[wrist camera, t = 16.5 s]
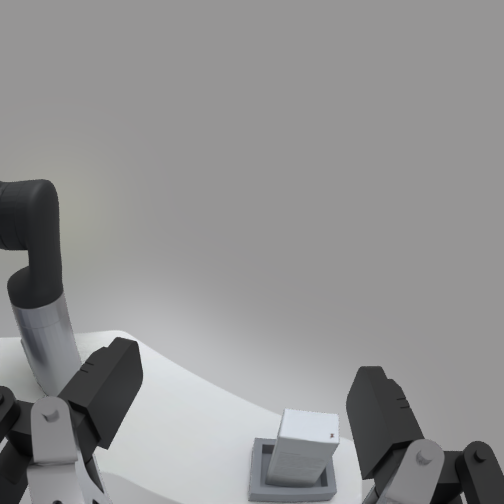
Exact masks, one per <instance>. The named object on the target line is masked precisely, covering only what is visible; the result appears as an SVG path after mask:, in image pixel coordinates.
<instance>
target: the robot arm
mask: <svg viewBox="0 0 504 504" xmlns="http://www.w3.org/2000/svg"><path fill="white" fill-rule="evenodd" d="M0 249H4V250H28V255H29V266H27V267H25V268H23V269H21V270H19V271H17V272H16V273H15V274H13V275H12V276H11V277H10V279H9V280H8V283H7V289H8V294H9V297H10V301H11V305H12V309H13V313H14V315H15V319H16V322H17V326H18V328H19V331H20V335H21V338H22V339H21V344H22V347H23V349H24V352H25V354H26V357H27V359H28V362H29V364H30V367H31V369H32V371H33V374H34V376H35V378H36V380H37V382H38V384H40V385H41V387H42V389H43V391H44V392H45V393H46V394H47V395H48V397H44V398H41V399H39V400H38V401H37V402H36V403H35V404H34V403H29V402H24V401H20V400H16V398H15V396H14V394H13V393H12V391H11V390H10V389H9V388H7V387H4V386H0V443H1V441H2V440H3V439H4V437H6V438H7V440H8V442H7V443H6V445H5V447H4V448H3V450H2V451H1V453H0V504H19V502H20V500H21V498H22V496H23V494H24V492H25V490H26V488H27V485H28V484H29V490H30V496H31V501H32V504H113V503H112V502H111V500H110V498H109V496H108V493H107V490H106V488H105V485H104V482H103V479H102V476H101V473H100V470H99V467H98V464H97V461H96V457H95V454H94V450H95V449H96V447H97V446H99V447H102V448H104V449H107V450H108V448H109V446H110V444H111V442H112V440H113V438H114V436H115V435H116V433H117V431H118V429H119V427H120V425H121V423H122V421H123V419H124V417H125V415H126V413H127V412H128V410H129V408H130V406H131V404H132V402H133V400H134V398H135V396H136V395H137V393H138V391H139V389H140V387H141V385H142V381H143V370H142V364H141V358H140V352H139V346H138V343H137V342H136V341H133V340H129V339H125V338H121V337H116V338H115V339H114V340H113V342H112V343H111V344H110V345H109V347H108V348H107V347H102V348H100V349H99V350H97V351H95V352H93V353H92V354H91V355H90V357H89V358H88V359H87V360H86V361H85V364H83V365H82V363H81V359H80V356H79V352H78V349H77V346H76V342H75V338H74V335H73V331H72V327H71V323H70V318H69V314H68V309H67V305H66V300H65V296H64V290H63V284H62V263H61V253H60V233H59V202H58V196H57V192H56V189H55V187H54V185H53V184H52V183H51V182H50V181H49V180H43V179H41V180H28V181H19V182H1V181H0ZM346 410H347V415H348V419H349V423H350V426H351V431H352V435H353V439H354V444H355V448H356V452H357V457H358V461H359V466H360V471H361V475H362V480H366V479H372V478H374V482H375V485H374V486H373V487H372V488H371V490H370V492H369V493H368V495H367V496H366V498H365V500H364V501H363V503H362V504H463V503H462V499H461V496H460V494H461V493H462V492H464V494H465V497H466V501H467V504H504V475H503V473H502V471H501V468H500V466H499V464H498V461H497V459H496V457H495V455H494V453H493V451H492V449H491V447H490V446H489V445H487V444H486V443H484V442H481V441H475V442H472V443H470V444H469V445H468V446H467V447H466V448H465V449H464V450H463V451H443V450H442V448H441V447H440V446H439V445H438V444H437V443H436V442H434V441H431V440H428V439H425V438H424V436H423V434H422V432H421V429H420V427H419V425H418V423H417V420H416V418H415V416H414V414H413V412H412V409H411V408H410V406H409V403H408V401H407V400H406V397H405V395H404V393H403V391H402V389H401V387H400V386H399V385H398V384H396V382H395V381H394V380H393V379H387V377H386V375H385V373H384V371H383V369H382V367H380V366H367V367H366V366H362V367H360V368H359V370H358V372H357V374H356V377H355V379H354V382H353V384H352V387H351V389H350V391H349V394H348V396H347V401H346Z"/></svg>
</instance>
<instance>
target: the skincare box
mask: <svg viewBox="0 0 504 504" xmlns="http://www.w3.org/2000/svg"><path fill="white" fill-rule="evenodd" d="M339 443H340V438H339V416H338V414H329V413H318V412H309V411H300V410H292V409H286V408H285V409H284V412H283V416H282V420H281V424H280V428H279V431H278V435H277V439H276V443H275V446H274V450H273V453H272V457H271V460H270V464H269V468H268V472H267V476H266V480H265V483H266V484H271V485H278V486H285V487H294V488H312V487H313V485H314V484H315V482H316V481H317V479H318V478H319V476H320V475H321V473H322V472H323V470H324V469H325V467H326V465H327V464H328V462H329V460H330V459H331V457H332V455H333V454H334V452H335V450H336V448H337V447H338V445H339Z"/></svg>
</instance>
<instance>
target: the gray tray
mask: <svg viewBox="0 0 504 504" xmlns="http://www.w3.org/2000/svg"><path fill="white" fill-rule="evenodd" d="M275 443H276V439H262V438H255V441H254V446H253V454H252V466H251V478H250V489H249V500H248V501H260V502H314V501H328V500H330V499H331V498H332V497H333V496H334V495H335V494H336V493H337V489H336V482H335V475H334V468H333V461H332V457H331V459H330V460H329V462H328V464H327V465H326V467H325V469H324V470H323V472H322V473H321V475H320V476H319V478H318V479H317V481H316V482H315V484H314V485H313V487H312V488H294V487H285V486H278V485H271V484H266V483H265V480H266V476H267V472H268V468H269V464H270V460H271V457H272V453H273V450H274V446H275Z"/></svg>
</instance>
